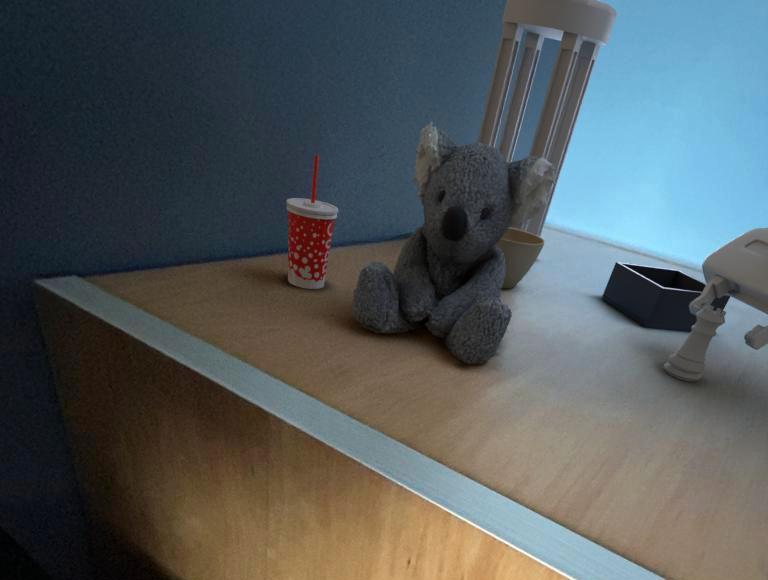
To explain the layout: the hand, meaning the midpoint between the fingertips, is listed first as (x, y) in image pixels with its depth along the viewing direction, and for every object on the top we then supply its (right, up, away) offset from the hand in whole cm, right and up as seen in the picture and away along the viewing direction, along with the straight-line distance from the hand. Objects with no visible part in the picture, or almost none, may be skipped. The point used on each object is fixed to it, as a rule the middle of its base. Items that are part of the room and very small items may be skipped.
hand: (719, 326), depth 65 cm
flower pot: (-21, +14, +23) cm, 34 cm away
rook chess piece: (-3, -5, +4) cm, 7 cm away
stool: (-19, +25, +38) cm, 49 cm away
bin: (+4, +10, +23) cm, 26 cm away
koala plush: (-32, 0, +2) cm, 33 cm away
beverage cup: (-49, +8, +7) cm, 50 cm away
